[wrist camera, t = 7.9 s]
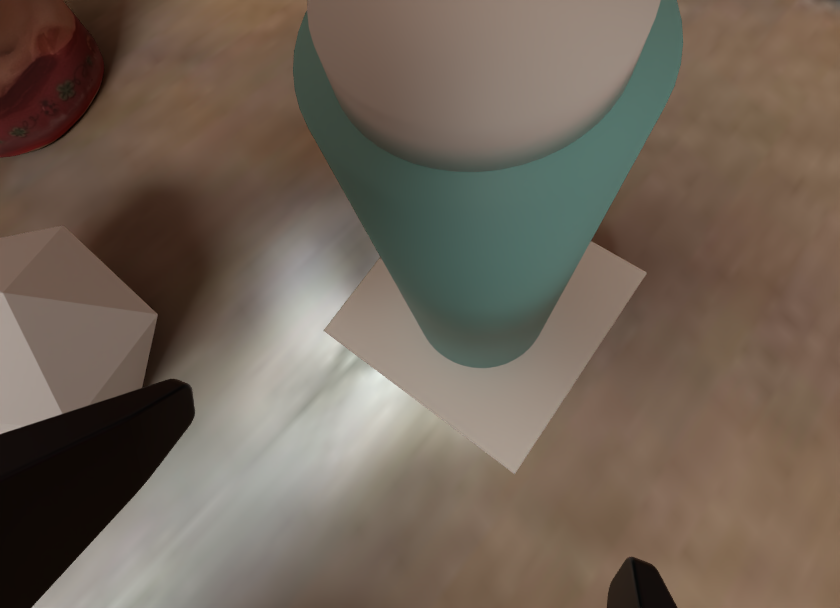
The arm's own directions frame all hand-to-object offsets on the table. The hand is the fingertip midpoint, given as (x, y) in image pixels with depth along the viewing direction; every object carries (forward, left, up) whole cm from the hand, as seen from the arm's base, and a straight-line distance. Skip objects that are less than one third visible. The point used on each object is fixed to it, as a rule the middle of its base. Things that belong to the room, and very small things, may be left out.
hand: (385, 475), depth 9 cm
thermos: (+6, +2, -8) cm, 10 cm away
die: (-6, +16, -11) cm, 20 cm away
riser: (+6, +2, -11) cm, 13 cm away
